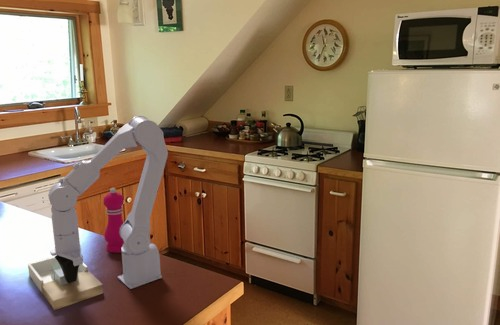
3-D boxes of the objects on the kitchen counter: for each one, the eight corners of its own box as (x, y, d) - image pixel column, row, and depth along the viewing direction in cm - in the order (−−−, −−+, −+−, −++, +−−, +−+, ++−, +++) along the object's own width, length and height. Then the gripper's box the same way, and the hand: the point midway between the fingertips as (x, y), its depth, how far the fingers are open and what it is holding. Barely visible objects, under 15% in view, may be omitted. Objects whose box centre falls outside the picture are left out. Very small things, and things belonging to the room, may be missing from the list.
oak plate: (88, 278, 120) (87, 270, 119) (103, 293, 112) (102, 284, 112) (42, 293, 112) (41, 284, 112) (54, 310, 105) (53, 300, 104)
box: (73, 262, 129) (72, 251, 128) (88, 278, 120) (87, 266, 119) (29, 275, 121) (27, 264, 120) (42, 293, 112) (40, 280, 111)
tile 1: (71, 277, 119) (68, 272, 120) (71, 266, 117) (68, 260, 118) (53, 283, 116) (50, 277, 118) (54, 271, 114) (51, 265, 115)
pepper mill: (120, 241, 143) (116, 183, 138) (134, 247, 139) (129, 187, 134) (100, 249, 138) (95, 188, 133) (114, 255, 133) (109, 193, 128)
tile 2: (72, 273, 117) (71, 265, 116) (78, 280, 114) (77, 271, 113) (55, 279, 114) (54, 270, 114) (60, 285, 111) (59, 277, 110)
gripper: (40, 226, 111) (46, 275, 114) (58, 245, 100) (64, 298, 103) (68, 220, 115) (73, 267, 119) (89, 237, 105) (94, 288, 108)
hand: (71, 281), depth 111 cm, fingers closed
